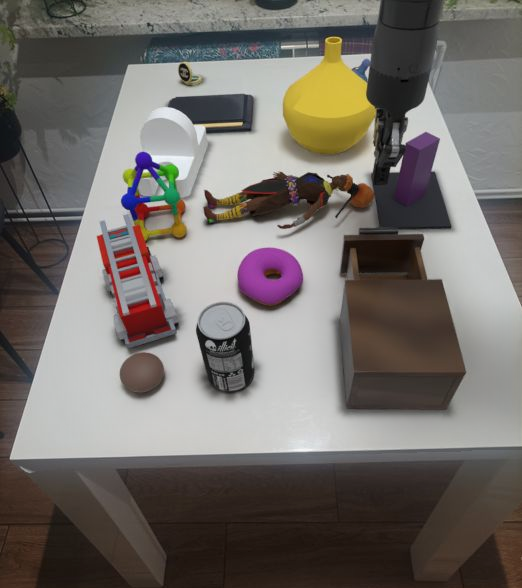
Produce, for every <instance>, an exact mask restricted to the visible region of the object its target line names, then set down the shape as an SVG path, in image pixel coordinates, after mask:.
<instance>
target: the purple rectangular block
mask: <svg viewBox="0 0 522 588" xmlns="http://www.w3.org/2000/svg"><path fill="white" fill-rule="evenodd" d="M440 141H441V137H437V136H436V135H434V134H433V133H430V132H428V131H424V132H423V133H421V134H419V135H417V136H416V137H414V138H412V139H410V140H408V141H407V142H405V144H404V145H405V148H406V150H405V152H404V155H403V156H402V158H401V163H400V168H399V177H398V182H397V187H396V191H395V196H394V200H396V201H397V202H399V203H401V204H402V205H404V206H406V207H407V206H409V205H410V204H412V203H413V202H415V201H417V200H418V199H420V198H422V197H423V196H425V193H426V189H427V185H428V182H429V178H430V174H431V172H433V171H432V170H433V167H434V164H435V159H436V156H437V152H438V148H439V145H440Z"/></svg>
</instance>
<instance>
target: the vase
mask: <svg viewBox="0 0 522 588" xmlns="http://www.w3.org/2000/svg"><path fill="white" fill-rule="evenodd" d="M324 41H325V42H324V55H323V59H322V60H321V61H320V63H319V64H317V65H316V66H315V67H313V68H312V69H311V70H310V71H308V72H307V73H306V74H304V75H303V76H302V77H300V78H299V79H297V80H295V82H293V83H292V84H290V85H289V86H288V88H287V89H286V90H285V93H284V96H283V99H282V116H283V119H284V122H285V124H286V126H287V129H288V131H289V134H290V135H291V137H292V138H293V139H294V140H295V141H296V143H297V144H298V145H299V146H300V147H301V148H303V149H305V150H307V151H308V152H310V153H313V154H316V155H321V156H332V155H337V154H338V155H339V154H341V153H343V152H345V151H347V150H349V149H351V148H353V147H354V146H355V145H356V144H358V142H360V140H361V139H363V137H365V135H366V134H367V132H368V130H369V128H370V127H371V125H372V123H373V122H374V120H375V119H374V115H375V106H373V105H372V104H370V103H369V101H368V100H367V97H366V90H367V82H366V81H364V80H363V79H362V78H360V77H359V76H358V75H357V74H356V73H354V72H353V71H352V68H350V67H349V66H348V65H346V63H345V62H344V61H343V59H342V44H343V39H342V38H341V37H339V36H329V37H327V38H325V40H324Z"/></svg>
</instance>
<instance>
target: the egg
mask: <svg viewBox="0 0 522 588" xmlns="http://www.w3.org/2000/svg"><path fill="white" fill-rule="evenodd" d="M164 375H165V366H164V363H163V361H162V360H161V359H160V358H159V356H158V355H156V354H154V353H151V352H146V351H144V352H143V351H141V352H136V353H134V354H132V355H130V356H128V357H127V358H126V359H125V360H124V361H123V362H122V364H121V366H120V369H119V379H120V382H121V384H122V385H123V386H124V387H125V389H127V390H129V391H131V392H133V393H145V392H146V393H147V392H149V391H151V390H153V389H155V388H156V387H157V386H159V384H161V382H162V380H163V378H164Z"/></svg>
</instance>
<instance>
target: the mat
mask: <svg viewBox="0 0 522 588" xmlns="http://www.w3.org/2000/svg"><path fill="white" fill-rule="evenodd" d="M399 172H400V171H399ZM399 172H390V173H389V178H388V183H387V184H386V185H374V184H373V180H372V179H371V181H372V182H371V183H372V186H373V187H372V189H373V192H374V199H375V205H376V212H377V216H378V223H379V228H385V227H398V230H430V229H431V230H433V229H434V230H435V229H437V230H439V229H443V230H444V229H452V227H453V226H452V222H451V219H450V216H449V213H448V210H447V207H446V203H445V200H444V197H443V194H442V191H441V187H440V183H439V179H438V178H437V174H436V171H431V174H430V178H429V182H428V185H427V189H426V193H425V196H423V197H422V198H420V199H418V200H417V201H415V202H413V203H412V204H410V205H409V206H407V207H406V206H404V205H402V204H401V203H399V202H397V201H396V200H394V196H395V191H396V187H397V182H398V177H399ZM372 174H373V172H371V175H370V176H371V178H372Z"/></svg>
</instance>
